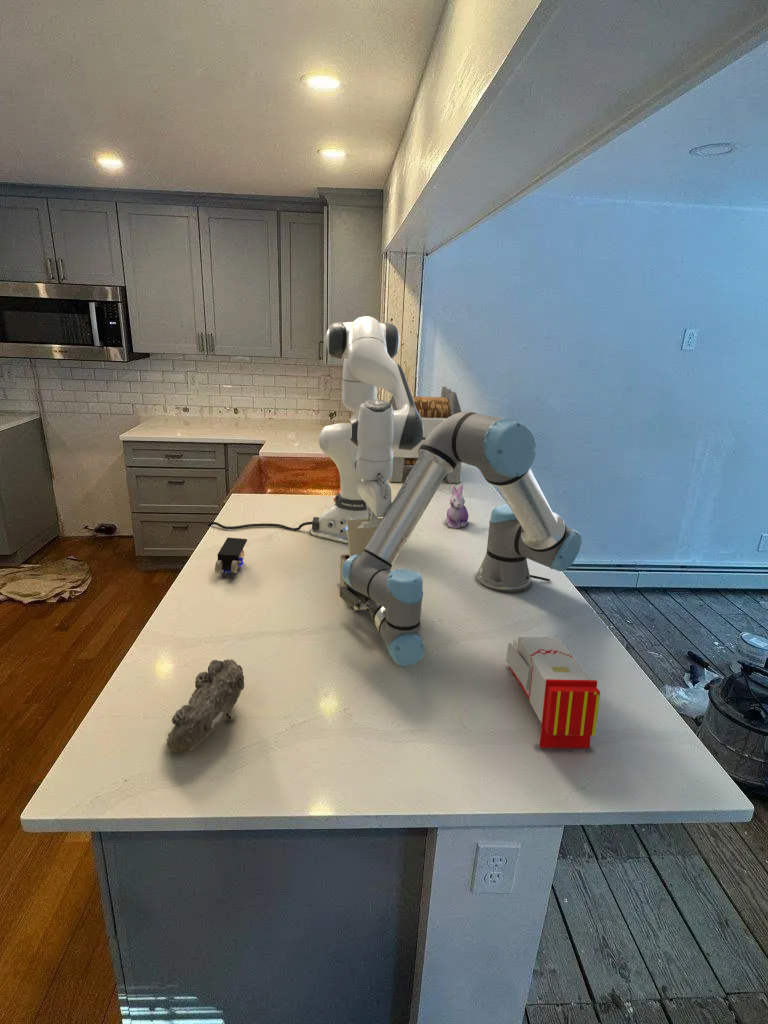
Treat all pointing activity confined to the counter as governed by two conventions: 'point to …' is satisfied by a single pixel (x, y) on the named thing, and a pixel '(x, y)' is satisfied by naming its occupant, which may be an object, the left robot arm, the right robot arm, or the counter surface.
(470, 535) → the counter surface
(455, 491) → the figurine
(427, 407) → the grey boxy piece
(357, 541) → the lid
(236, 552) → the figurine character
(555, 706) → the toy
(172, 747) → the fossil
